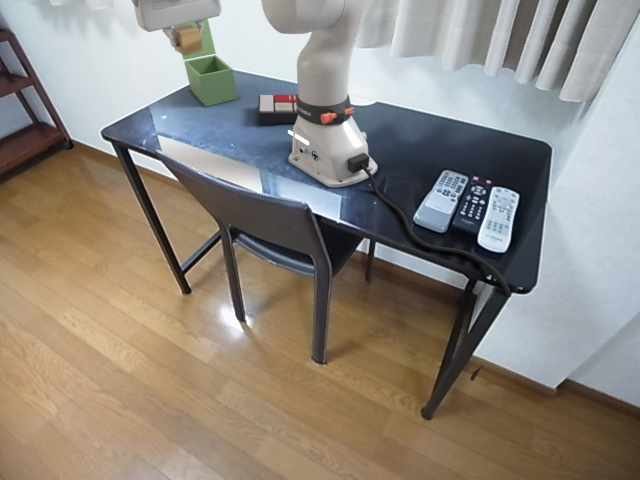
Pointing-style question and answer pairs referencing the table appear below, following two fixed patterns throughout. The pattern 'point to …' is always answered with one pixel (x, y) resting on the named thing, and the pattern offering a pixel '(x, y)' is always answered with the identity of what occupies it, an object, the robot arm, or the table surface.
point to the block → (187, 39)
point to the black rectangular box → (277, 109)
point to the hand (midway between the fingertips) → (187, 43)
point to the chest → (211, 80)
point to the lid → (206, 42)
